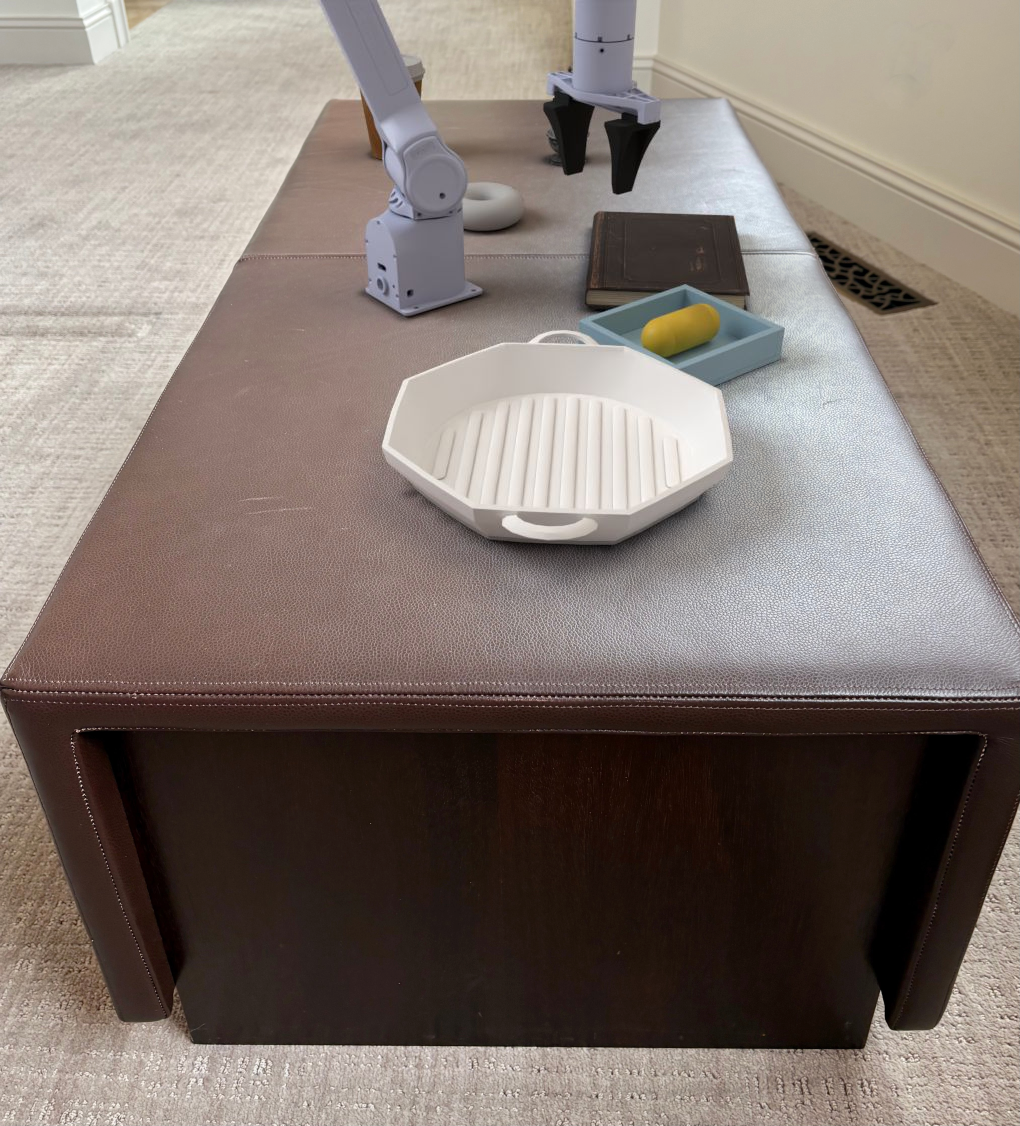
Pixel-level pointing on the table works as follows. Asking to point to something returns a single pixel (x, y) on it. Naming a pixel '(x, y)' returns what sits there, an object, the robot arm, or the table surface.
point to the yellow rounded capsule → (681, 330)
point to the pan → (559, 440)
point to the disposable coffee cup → (416, 74)
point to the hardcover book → (663, 257)
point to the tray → (713, 362)
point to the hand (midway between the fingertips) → (597, 182)
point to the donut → (491, 206)
